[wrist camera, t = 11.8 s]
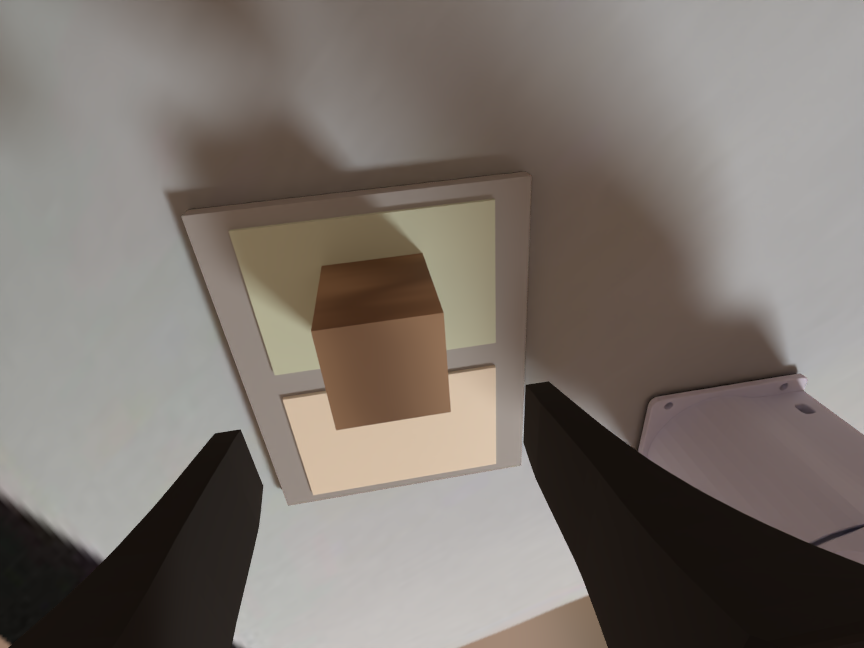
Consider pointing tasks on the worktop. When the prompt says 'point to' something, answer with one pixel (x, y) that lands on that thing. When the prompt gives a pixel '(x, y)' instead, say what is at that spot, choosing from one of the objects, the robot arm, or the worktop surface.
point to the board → (294, 309)
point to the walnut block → (381, 341)
